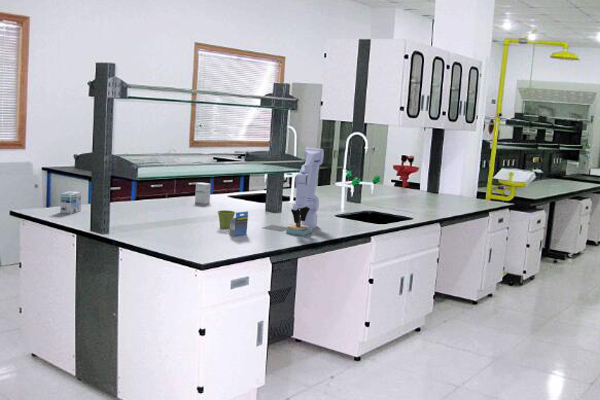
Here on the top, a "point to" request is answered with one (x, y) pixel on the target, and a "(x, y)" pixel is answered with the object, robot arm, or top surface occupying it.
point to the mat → (275, 228)
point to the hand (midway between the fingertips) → (299, 221)
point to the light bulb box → (70, 202)
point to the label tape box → (239, 224)
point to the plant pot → (225, 218)
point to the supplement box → (202, 193)
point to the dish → (299, 232)
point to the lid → (298, 226)
